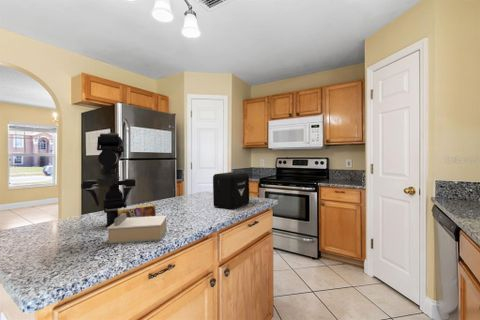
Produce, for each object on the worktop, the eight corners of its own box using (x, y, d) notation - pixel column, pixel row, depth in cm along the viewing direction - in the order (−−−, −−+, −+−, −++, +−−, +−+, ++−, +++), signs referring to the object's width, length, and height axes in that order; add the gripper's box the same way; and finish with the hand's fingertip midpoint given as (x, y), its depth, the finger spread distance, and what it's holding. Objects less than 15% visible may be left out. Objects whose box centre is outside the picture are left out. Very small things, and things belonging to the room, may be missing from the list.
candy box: (156, 224, 106) (118, 231, 98) (154, 222, 110) (118, 228, 102) (155, 205, 106) (118, 210, 98) (153, 203, 110) (117, 208, 102)
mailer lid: (107, 229, 83) (106, 221, 83) (120, 219, 97) (120, 212, 97) (160, 226, 86) (160, 218, 86) (167, 216, 99) (166, 209, 99)
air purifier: (233, 210, 132) (232, 175, 131) (213, 207, 139) (212, 174, 139) (251, 203, 148) (250, 172, 148) (232, 201, 156) (231, 172, 156)
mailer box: (108, 243, 84) (108, 229, 84) (121, 232, 97) (121, 220, 96) (160, 240, 86) (160, 226, 86) (166, 229, 99) (166, 217, 99)
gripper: (73, 167, 81) (75, 211, 81) (131, 165, 85) (133, 207, 86) (86, 166, 92) (87, 205, 92) (137, 164, 96) (138, 202, 96)
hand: (111, 205), depth 91 cm, fingers open, 9 cm apart
